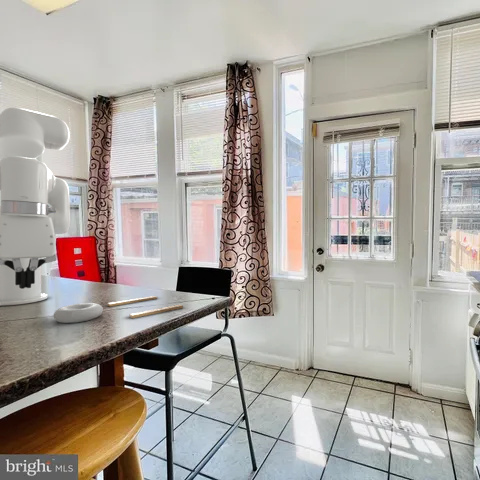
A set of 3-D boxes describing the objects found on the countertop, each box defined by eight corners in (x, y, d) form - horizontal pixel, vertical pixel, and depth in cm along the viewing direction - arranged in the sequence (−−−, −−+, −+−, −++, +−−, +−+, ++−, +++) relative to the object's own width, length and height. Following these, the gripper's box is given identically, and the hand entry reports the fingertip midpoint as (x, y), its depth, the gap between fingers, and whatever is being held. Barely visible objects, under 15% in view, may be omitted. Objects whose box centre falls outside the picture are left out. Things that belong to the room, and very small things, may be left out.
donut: (101, 311, 80) (54, 317, 73) (101, 300, 80) (54, 304, 73) (104, 320, 73) (51, 327, 66) (104, 307, 73) (52, 313, 66)
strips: (107, 305, 86) (107, 303, 86) (154, 297, 98) (154, 295, 97) (132, 318, 74) (132, 315, 74) (182, 308, 86) (183, 305, 86)
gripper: (63, 213, 73) (63, 282, 73) (-27, 208, 60) (-27, 290, 61) (71, 212, 68) (71, 285, 68) (-25, 206, 56) (-25, 294, 56)
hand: (25, 287), depth 64 cm, fingers closed
